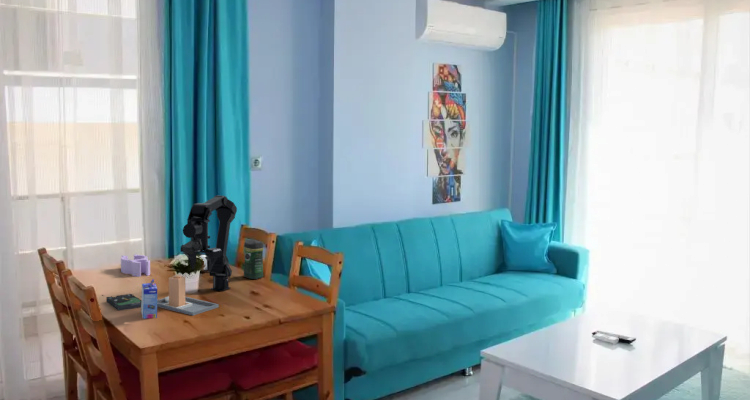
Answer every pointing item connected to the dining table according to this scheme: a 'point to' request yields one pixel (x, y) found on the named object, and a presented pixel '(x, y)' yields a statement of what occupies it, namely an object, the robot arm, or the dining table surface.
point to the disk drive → (124, 302)
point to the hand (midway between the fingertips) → (200, 270)
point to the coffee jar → (253, 259)
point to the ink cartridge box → (149, 300)
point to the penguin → (204, 261)
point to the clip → (135, 265)
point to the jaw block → (177, 291)
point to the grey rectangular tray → (188, 306)
